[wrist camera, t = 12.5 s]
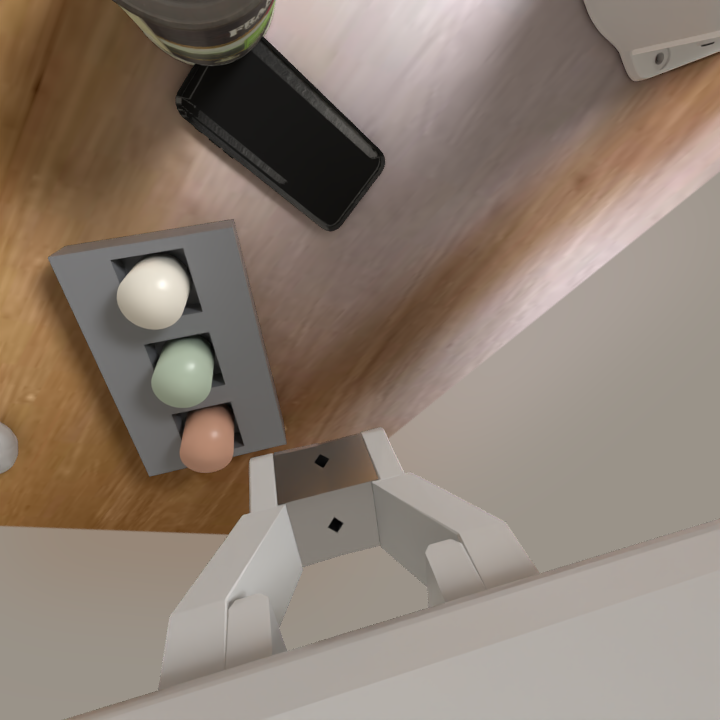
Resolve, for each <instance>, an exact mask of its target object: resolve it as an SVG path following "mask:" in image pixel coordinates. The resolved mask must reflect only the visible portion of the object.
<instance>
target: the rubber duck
mask: <svg viewBox="0 0 720 720" xmlns="http://www.w3.org/2000/svg"><path fill="white" fill-rule="evenodd" d="M17 456H18V441H17V437H16V436H15V434H14V433H13V432H12V430H11V429H10V428H9V427H8V426H6V425H4V424H3V423H1V422H0V473H3V472H5V471H7V470H8V469H10V468H11V467H12V466H13V464H14V463H15V461H16V458H17Z"/></svg>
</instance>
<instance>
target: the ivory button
mask: <svg viewBox="0 0 720 720" xmlns="http://www.w3.org/2000/svg"><path fill="white" fill-rule="evenodd" d="M191 286H192V280H191V275H190V273H189V271H188V269H187V267H186V266H185V265H184V264H183V263H182V262H181V261H180V260H179V259H177V258H176V257H174V256H171V255H169V254H165V253H153V254H149V255H146V256H144V257H143V258H141V259H140V260H139V261H138V262H137V263H136V265H135V266H134V267H133V268H132V270H131V271H130V272H129V273H128V274H127V276H126V277H125V278H124V279H123V281H122V282H121V283H120V285H119V287H118V290H117V303H118V306H119V308H120V310H121V312H122V313H123V315H124V316H125V317H126V318H127V319H128V320H129V321H131V322H132V323H133V324H135V325H137V326H139V327H142V328H146V329H152V330H158V329H164V328H167V327H169V326H171V325H173V324H174V323H176V322H177V321H178V320H179V318H180V317H181V315H182V313H183V311H184V308H185V305H186V302H187V299H188V296H189V293H190V290H191Z"/></svg>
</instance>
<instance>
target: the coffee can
mask: <svg viewBox="0 0 720 720" xmlns="http://www.w3.org/2000/svg"><path fill="white" fill-rule="evenodd" d="M112 1H114V2H115V3H117V4H118V5H119V6H120V7H121V8H122V9H123V10H124V11H125V12H126V13H127V14H128V15H129V16H130V17H131V18H132V20H133V21H134V22H135V23H136V24H137V25H138V26H139V28H140V29H141V30H142V31H143V32H144V33H145V35H146V36H147V37H148V38H149V39H150V40H151V41H152V42H153V43H155V44H156V45H157V46H158V47H159V48H160V49H162V50H163V51H164V52H166V53H168V54H169V55H170V56H171V57H173V58H175V59H178V60H180V61H182V62H184V63H187V64H190V65H194V64H200V65H208V66H212V65H223V64H228V63H231V62H233V61H235V60H237V59H239V58H241V57H242V56H244V55H246V54H247V53H248V52H249V51H250V50H251V49H252V48H253V47H254V46H255V45H256V44H257V43H258V42H259V40H260V39H261V38H262V36H263V37H264V36H265V34H266V32H267V30H268V28H269V26H270V23H271V20H272V17H273V13H274V8H275V1H276V0H112Z"/></svg>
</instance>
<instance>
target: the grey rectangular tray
mask: <svg viewBox="0 0 720 720" xmlns="http://www.w3.org/2000/svg"><path fill="white" fill-rule="evenodd" d="M153 253H165V254H169V255H171V256H174V257H176V258H177V259H179V260H180V261H181V262H182V263H183V264H184V265H185V266H186V267H187V269H188V271H189V273H190V275H191V280H192V286H191V290H190V293H189V296H188V299H187V302H186V305H185V308H184V311H183V313H182V315H181V317H180V318H179V320H178V321H177V322H176V323H174V324H173V325H171V326H169V327H167V328H164V329H158V330H152V329H146V328H142V327H139V326H137V325H135V324H133V323H132V322H131V321H129V320H128V319H127V318H126V317H125V316H124V315H123V313H122V312H121V310H120V308H119V306H118V303H117V290H118V287H119V285H120V283H121V282H122V281H123V279H124V278H125V277H126V276H127V274H128V273H129V272H130V271H131V270H132V268H133V267H134V266H135V265H136V263H137V262H138V261H139V260H140V259H141V258H143V257H144V256H146V255H149V254H153ZM48 259H49V261H50V263H51V266H52V268H53V270H54V272H55V274H56V276H57V278H58V281H59V283H60V285H61V287H62V289H63V291H64V294H65V296H66V298H67V300H68V302H69V304H70V306H71V309H72V311H73V313H74V315H75V317H76V319H77V322H78V324H79V326H80V328H81V330H82V332H83V334H84V337H85V339H86V341H87V343H88V345H89V347H90V350H91V352H92V354H93V356H94V358H95V360H96V362H97V365H98V367H99V369H100V371H101V373H102V375H103V378H104V380H105V382H106V384H107V386H108V388H109V390H110V393H111V395H112V397H113V399H114V401H115V403H116V406H117V408H118V410H119V412H120V414H121V416H122V418H123V421H124V423H125V425H126V427H127V429H128V431H129V434H130V436H131V438H132V440H133V442H134V444H135V446H136V449H137V451H138V453H139V455H140V457H141V459H142V462H143V464H144V466H145V468H146V470H147V472H148V474H149V477H150V476H154V475H158V474H163V473H167V472H171V471H175V470H179V469H184V468H188V467H187V466H185V465H184V463H183V462H182V460H181V458H180V447H181V442H182V437H183V432H184V427H185V422H186V417H187V414H188V412H189V411H191V410H195V409H200V408H204V407H209V406H213V405H218V404H222V403H224V404H226V405H227V406H228V407H229V408H230V409H231V410H232V411H233V414H234V417H235V423H234V453H233V457H234V456H238V455H242V454H247V453H251V452H255V451H259V450H263V449H268V448H272V447H276V446H280V445H284V444H287V443H286V435H285V428H284V422H283V418H282V414H281V410H280V406H279V402H278V398H277V394H276V389H275V385H274V381H273V377H272V373H271V369H270V365H269V361H268V357H267V353H266V349H265V345H264V341H263V337H262V333H261V329H260V325H259V321H258V317H257V313H256V308H255V304H254V300H253V296H252V292H251V288H250V284H249V280H248V276H247V272H246V268H245V264H244V260H243V256H242V252H241V248H240V244H239V240H238V236H237V232H236V227H235V223H234V219H232V220H225V221H219V222H213V223H207V224H200V225H194V226H188V227H182V228H175V229H169V230H163V231H157V232H150V233H144V234H138V235H132V236H125V237H119V238H113V239H107V240H100V241H94V242H88V243H82V244H75V245H69V246H64V247H63V248H61V249H60V250H58V251H57V252H55V253H54V254H52V255H51V256H49V257H48ZM191 335H199V336H201V337H203V338H205V339H206V340H207V341H208V342H209V343H210V344H211V346H212V347H213V349H214V353H215V362H214V370H213V377H212V385H211V391H210V393H209V395H208V396H207V398H206V399H205V400H204V401H203V402H201V403H200V404H198V405H196V406H193V407H188V408H177V407H172V406H169V405H167V404H165V403H163V402H162V401H161V400H159V399H158V398H157V396H156V395H155V394H154V392H153V389H152V385H151V380H152V376H153V373H154V370H155V368H156V365H157V362H158V360H159V357H160V354H161V352H162V349H163V346H164V345H165V343H166V342H167V341H168V340H170V339H176V338H181V337H186V336H191Z"/></svg>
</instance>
